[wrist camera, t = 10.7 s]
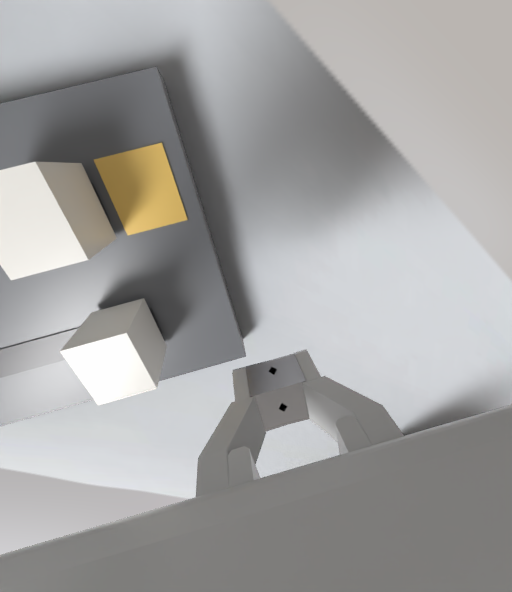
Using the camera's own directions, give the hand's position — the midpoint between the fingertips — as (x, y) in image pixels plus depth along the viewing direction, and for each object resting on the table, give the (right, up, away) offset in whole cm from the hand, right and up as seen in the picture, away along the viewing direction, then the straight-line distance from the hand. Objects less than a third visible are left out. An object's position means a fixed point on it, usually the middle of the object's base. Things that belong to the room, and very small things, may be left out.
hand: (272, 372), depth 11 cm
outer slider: (-8, +1, +5) cm, 10 cm away
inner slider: (-9, +7, +2) cm, 12 cm away
